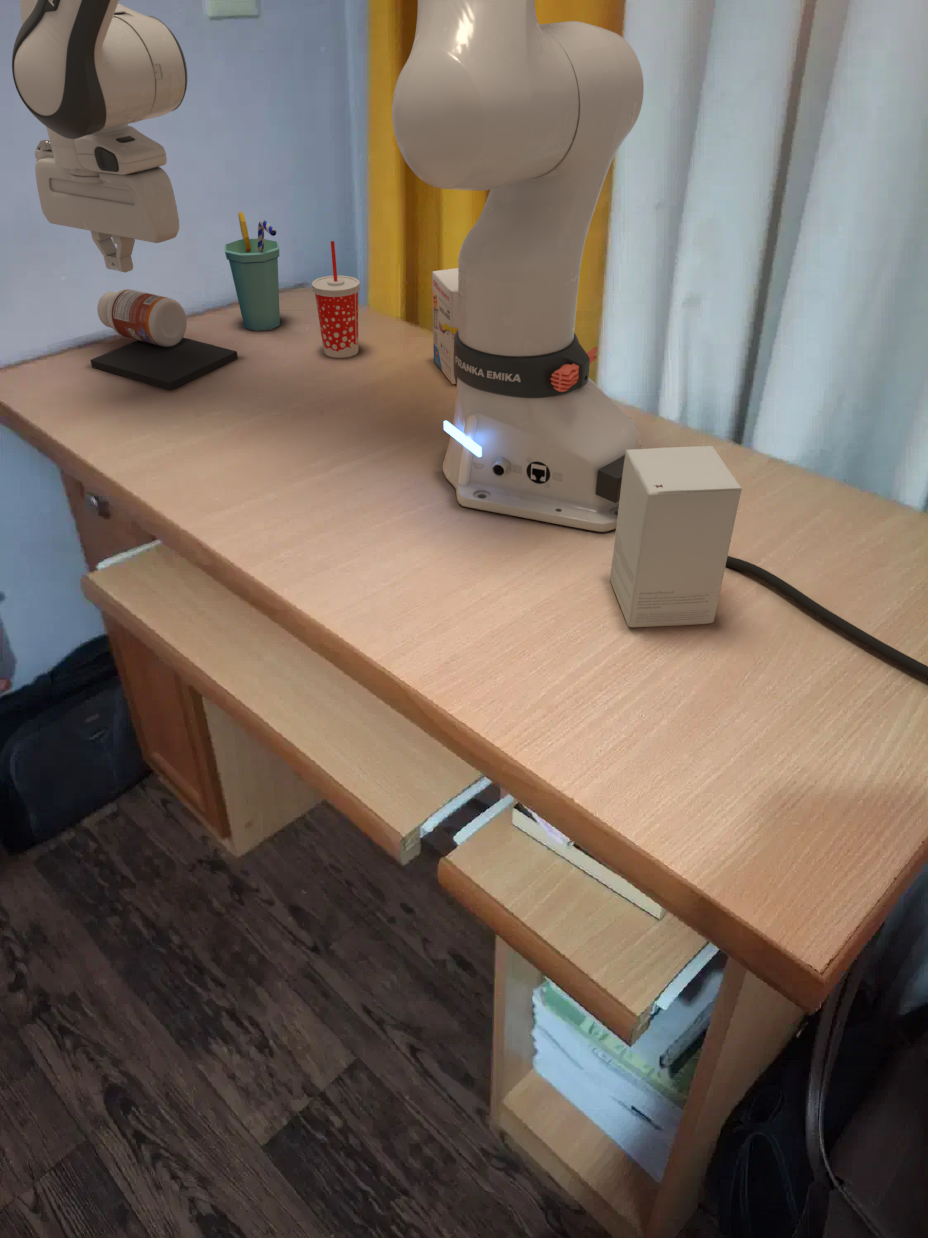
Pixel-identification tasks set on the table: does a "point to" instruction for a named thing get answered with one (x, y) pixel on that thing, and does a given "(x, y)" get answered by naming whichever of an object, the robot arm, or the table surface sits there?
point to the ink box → (445, 319)
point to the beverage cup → (338, 312)
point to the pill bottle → (143, 316)
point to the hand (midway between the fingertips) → (120, 269)
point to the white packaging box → (673, 535)
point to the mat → (164, 362)
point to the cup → (256, 276)
